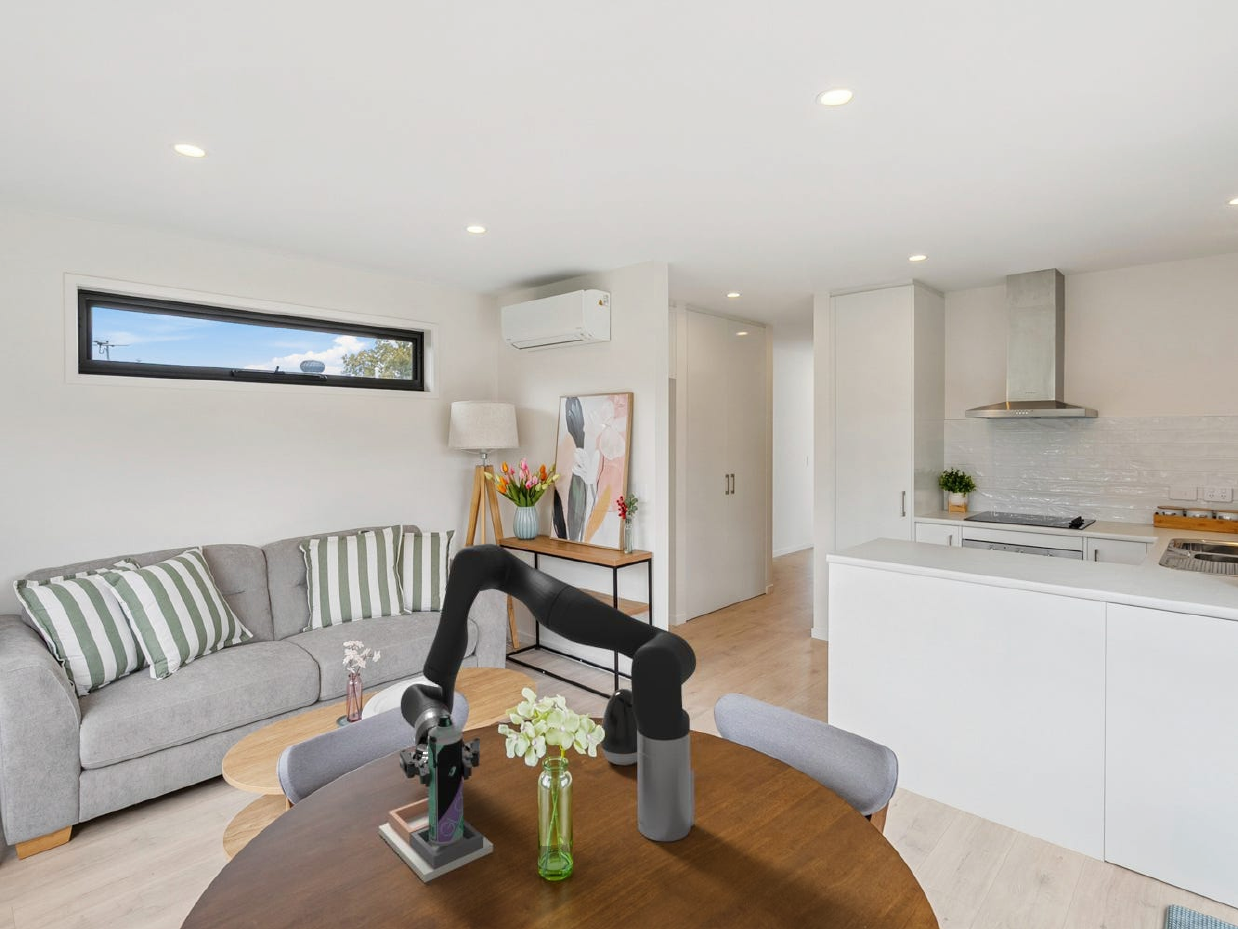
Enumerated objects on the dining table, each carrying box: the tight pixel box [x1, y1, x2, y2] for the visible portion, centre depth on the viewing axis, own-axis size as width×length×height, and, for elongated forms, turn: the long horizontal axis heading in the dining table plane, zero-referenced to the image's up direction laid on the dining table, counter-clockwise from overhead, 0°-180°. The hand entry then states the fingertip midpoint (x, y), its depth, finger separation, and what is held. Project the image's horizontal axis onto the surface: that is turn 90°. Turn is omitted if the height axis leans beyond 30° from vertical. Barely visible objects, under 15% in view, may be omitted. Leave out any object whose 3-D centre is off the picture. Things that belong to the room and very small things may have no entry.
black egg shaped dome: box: [599, 688, 637, 766], centre depth 143 cm, size 10×10×15 cm
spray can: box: [427, 715, 464, 846], centre depth 110 cm, size 6×6×20 cm
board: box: [378, 797, 494, 883], centre depth 113 cm, size 12×18×3 cm, turn 41°
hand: (447, 777), depth 107 cm, fingers closed on spray can, 5 cm apart
